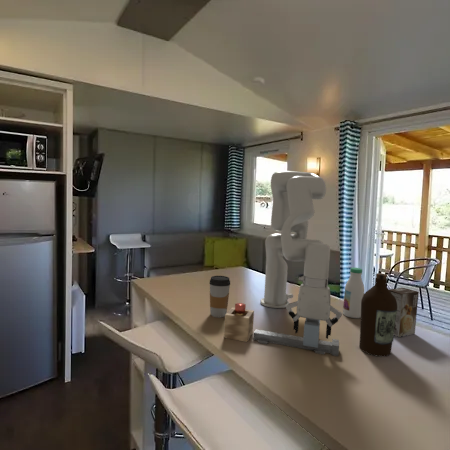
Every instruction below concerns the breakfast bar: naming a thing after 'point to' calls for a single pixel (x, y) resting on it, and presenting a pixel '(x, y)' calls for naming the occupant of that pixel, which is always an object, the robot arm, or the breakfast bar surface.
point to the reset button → (240, 308)
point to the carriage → (311, 332)
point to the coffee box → (405, 311)
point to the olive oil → (378, 318)
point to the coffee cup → (219, 295)
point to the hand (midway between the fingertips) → (311, 334)
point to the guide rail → (296, 342)
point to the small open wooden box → (238, 325)
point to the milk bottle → (353, 294)
